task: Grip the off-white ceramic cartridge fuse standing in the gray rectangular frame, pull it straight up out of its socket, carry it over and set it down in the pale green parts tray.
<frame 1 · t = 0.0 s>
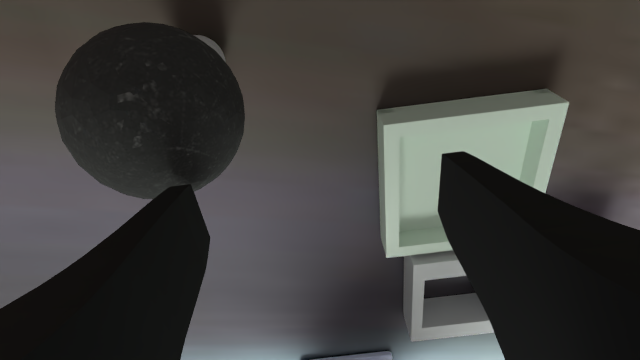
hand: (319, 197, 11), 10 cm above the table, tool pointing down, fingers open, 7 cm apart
gray rectangular frame: (491, 268, 28), on the table
parts tray: (454, 171, 23), on the table
light bulb: (204, 55, 19), on the table
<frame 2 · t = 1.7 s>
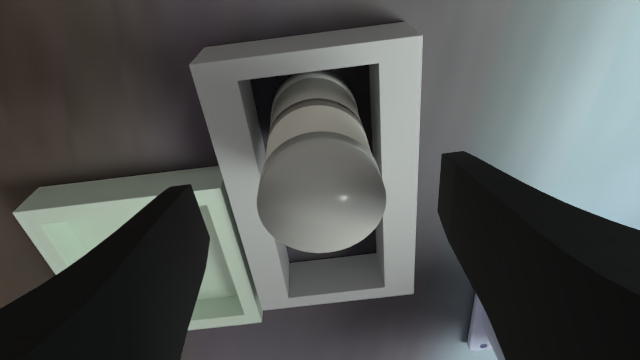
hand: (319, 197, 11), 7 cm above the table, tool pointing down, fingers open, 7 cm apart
gray rectangular frame: (322, 173, 18), on the table
fuse: (314, 110, 17), resting in gray rectangular frame
parts tray: (164, 246, 20), on the table
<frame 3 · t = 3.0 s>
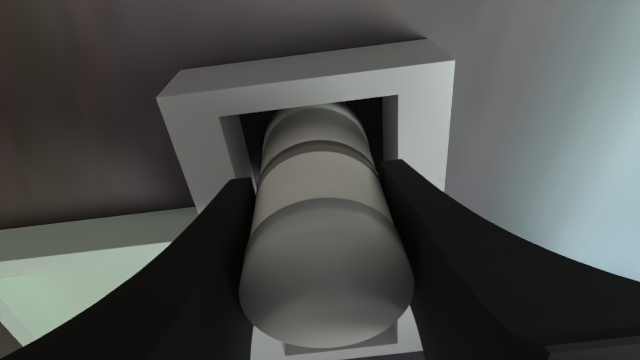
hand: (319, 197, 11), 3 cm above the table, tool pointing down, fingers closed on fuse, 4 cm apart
gray rectangular frame: (324, 213, 16), on the table
fuse: (315, 143, 14), resting in gray rectangular frame, touching gripper
parts tray: (142, 293, 18), on the table
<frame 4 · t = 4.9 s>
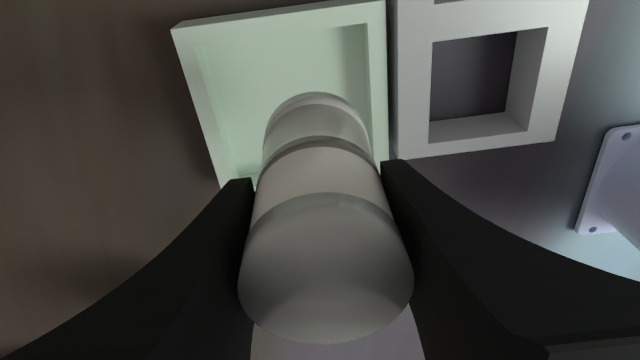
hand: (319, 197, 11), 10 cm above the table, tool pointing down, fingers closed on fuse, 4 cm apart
gray rectangular frame: (469, 6, 18), on the table
fuse: (315, 140, 14), point 7 cm above the table, touching gripper
parts tray: (294, 100, 20), on the table
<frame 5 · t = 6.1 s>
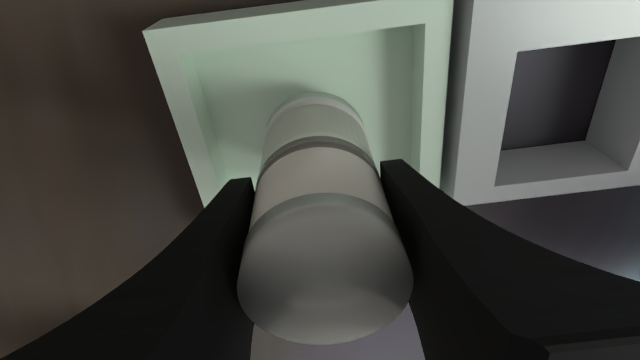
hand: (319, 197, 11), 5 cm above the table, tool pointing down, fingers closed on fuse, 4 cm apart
gray rectangular frame: (557, 2, 13), on the table
fuse: (315, 140, 14), point 2 cm above the table, touching gripper
parts tray: (313, 125, 15), on the table
when the fingers open (5 cm above the table, at t = 6.8 s): fuse stays where it is, resting on parts tray.
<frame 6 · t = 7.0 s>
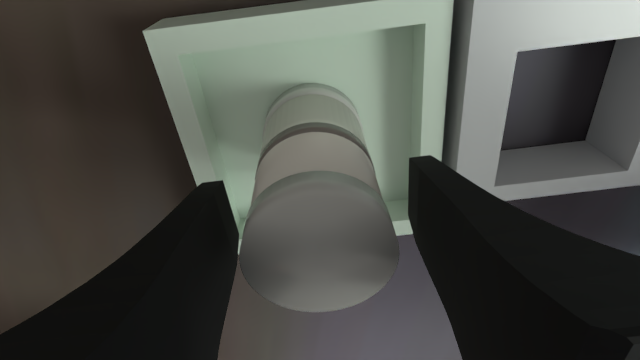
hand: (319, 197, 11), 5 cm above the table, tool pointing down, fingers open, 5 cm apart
gray rectangular frame: (558, 2, 13), on the table
fuse: (312, 129, 15), point 1 cm above the table, touching parts tray
parts tray: (313, 125, 15), on the table
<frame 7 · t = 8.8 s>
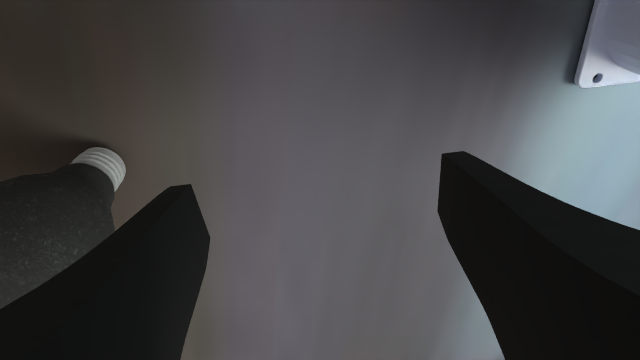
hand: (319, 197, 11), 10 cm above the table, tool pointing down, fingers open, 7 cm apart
light bulb: (110, 157, 22), on the table
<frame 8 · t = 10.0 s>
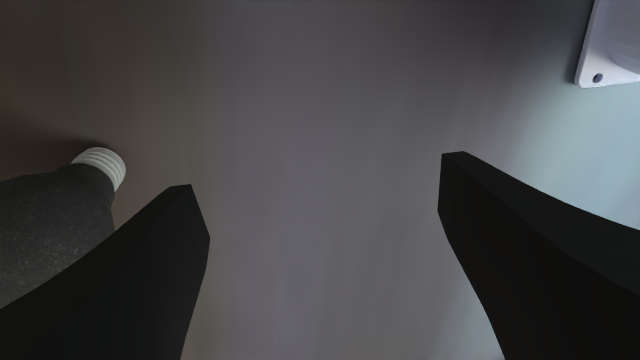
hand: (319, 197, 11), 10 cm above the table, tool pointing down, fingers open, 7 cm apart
light bulb: (110, 157, 22), on the table
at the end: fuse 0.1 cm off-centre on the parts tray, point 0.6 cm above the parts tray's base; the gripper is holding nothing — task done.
